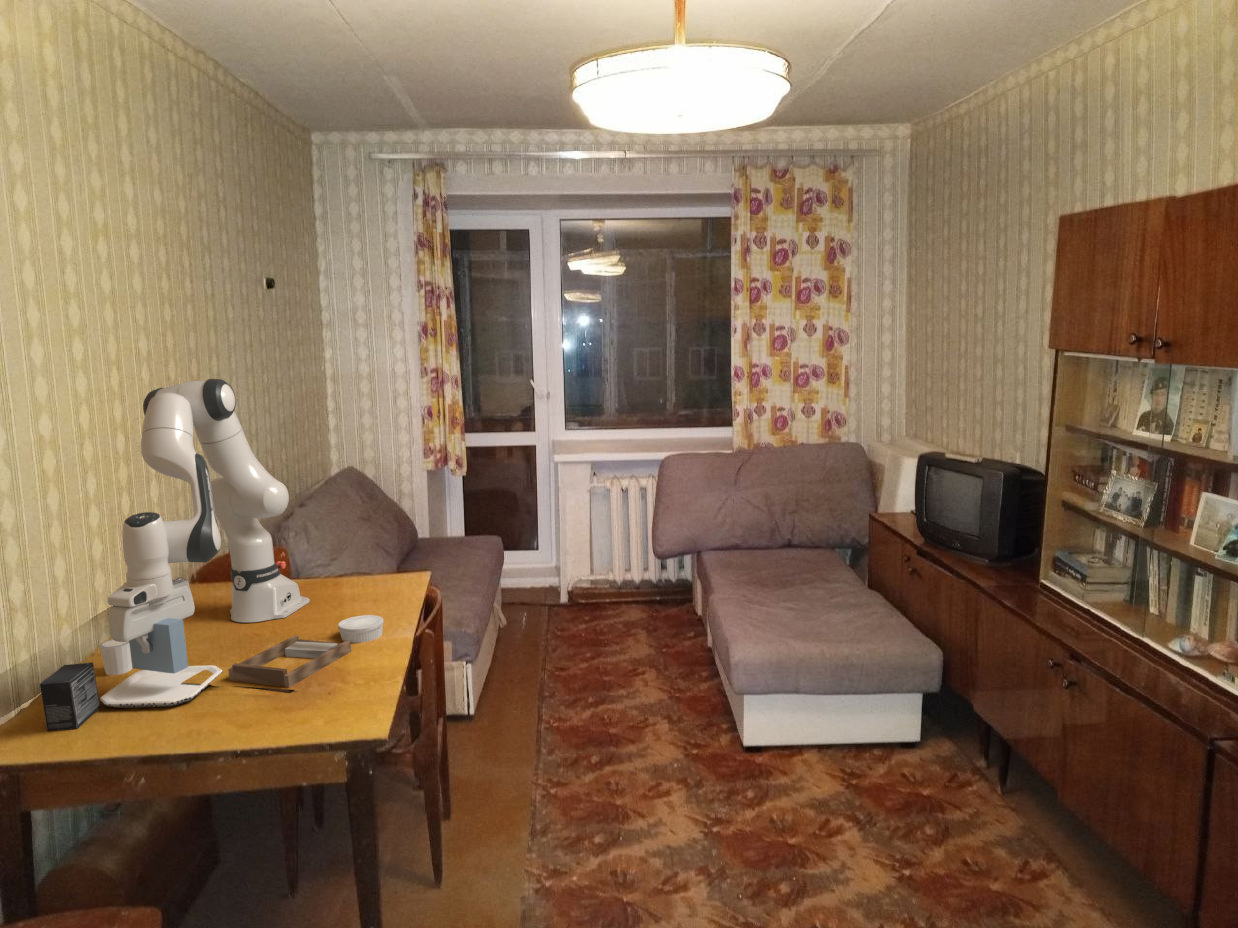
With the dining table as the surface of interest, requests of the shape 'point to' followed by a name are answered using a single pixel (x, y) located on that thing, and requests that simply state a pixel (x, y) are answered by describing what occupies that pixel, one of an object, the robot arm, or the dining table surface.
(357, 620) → the ramekin
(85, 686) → the small box
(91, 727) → the dining table surface
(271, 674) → the frame
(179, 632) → the slate blue block
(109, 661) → the white cup
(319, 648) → the offcut upper
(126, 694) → the plate
